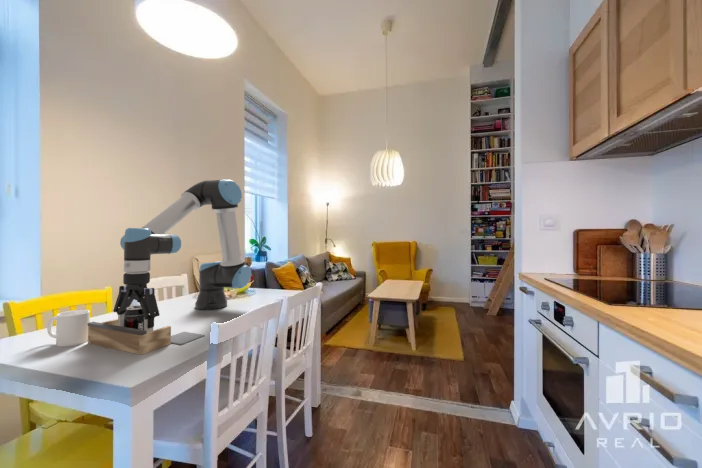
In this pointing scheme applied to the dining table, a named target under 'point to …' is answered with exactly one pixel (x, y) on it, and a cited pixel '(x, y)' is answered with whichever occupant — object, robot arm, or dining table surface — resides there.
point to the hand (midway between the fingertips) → (135, 335)
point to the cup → (70, 327)
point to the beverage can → (134, 317)
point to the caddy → (127, 337)
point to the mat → (184, 337)
